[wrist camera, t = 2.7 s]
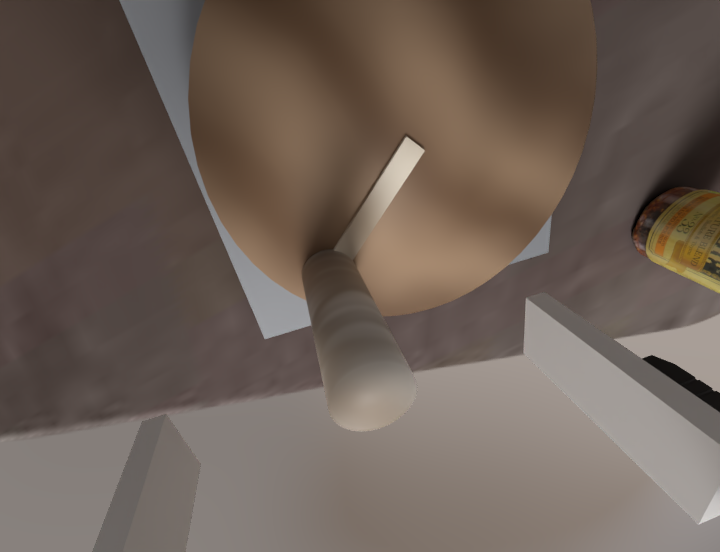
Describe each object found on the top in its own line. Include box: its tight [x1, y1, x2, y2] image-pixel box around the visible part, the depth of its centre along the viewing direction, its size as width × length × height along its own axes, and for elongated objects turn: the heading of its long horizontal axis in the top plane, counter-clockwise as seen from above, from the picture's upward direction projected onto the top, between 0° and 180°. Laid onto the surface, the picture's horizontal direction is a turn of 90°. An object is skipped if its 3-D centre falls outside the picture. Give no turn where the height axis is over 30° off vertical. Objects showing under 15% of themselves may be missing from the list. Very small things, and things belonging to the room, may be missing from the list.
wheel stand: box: [119, 0, 552, 339], centre depth 20 cm, size 22×22×1 cm
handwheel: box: [188, 0, 597, 431], centre depth 14 cm, size 20×20×12 cm
